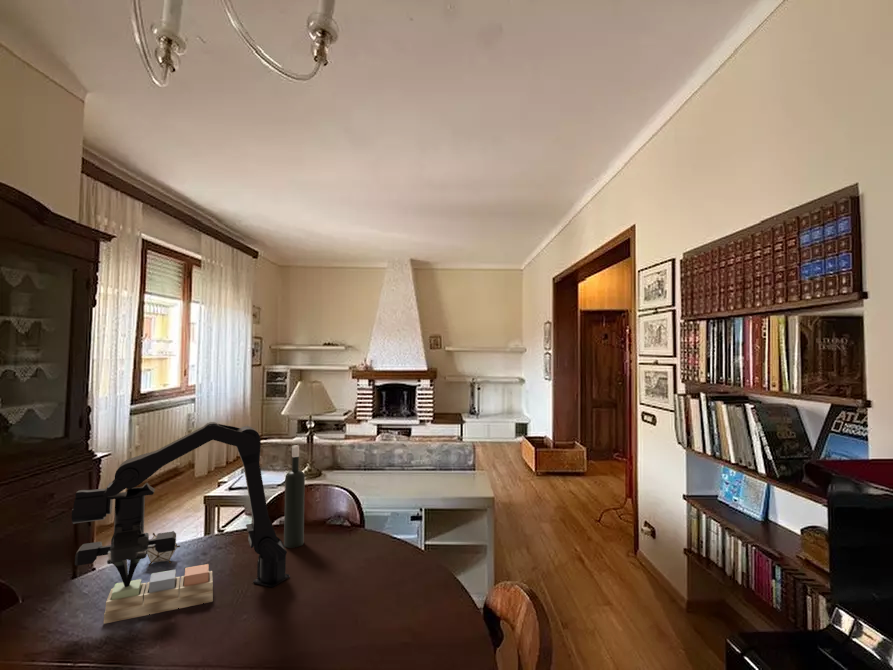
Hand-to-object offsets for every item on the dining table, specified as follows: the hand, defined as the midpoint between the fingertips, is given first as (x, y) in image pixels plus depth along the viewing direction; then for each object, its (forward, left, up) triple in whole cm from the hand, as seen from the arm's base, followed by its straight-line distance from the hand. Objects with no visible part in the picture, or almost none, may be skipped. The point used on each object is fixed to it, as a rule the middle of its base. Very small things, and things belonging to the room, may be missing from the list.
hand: (127, 585), depth 108 cm
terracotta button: (-9, -11, -2) cm, 14 cm away
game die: (+17, -20, -6) cm, 27 cm away
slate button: (-4, -5, -2) cm, 7 cm away
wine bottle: (-8, -45, -6) cm, 47 cm away
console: (-4, -5, -5) cm, 9 cm away
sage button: (0, 0, -3) cm, 3 cm away
